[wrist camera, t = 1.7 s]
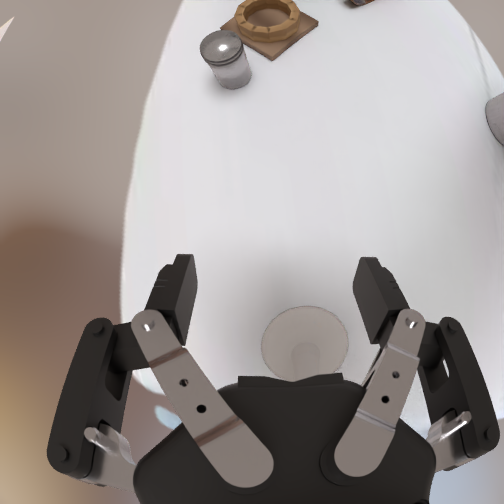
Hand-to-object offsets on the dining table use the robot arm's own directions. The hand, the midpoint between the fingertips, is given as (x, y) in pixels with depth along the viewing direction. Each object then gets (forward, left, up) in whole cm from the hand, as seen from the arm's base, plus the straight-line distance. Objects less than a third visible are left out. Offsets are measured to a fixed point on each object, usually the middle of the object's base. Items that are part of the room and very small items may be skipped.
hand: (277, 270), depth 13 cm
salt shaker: (-12, -22, -24) cm, 34 cm away
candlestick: (+10, +13, -24) cm, 29 cm away
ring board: (-23, -25, -24) cm, 41 cm away
